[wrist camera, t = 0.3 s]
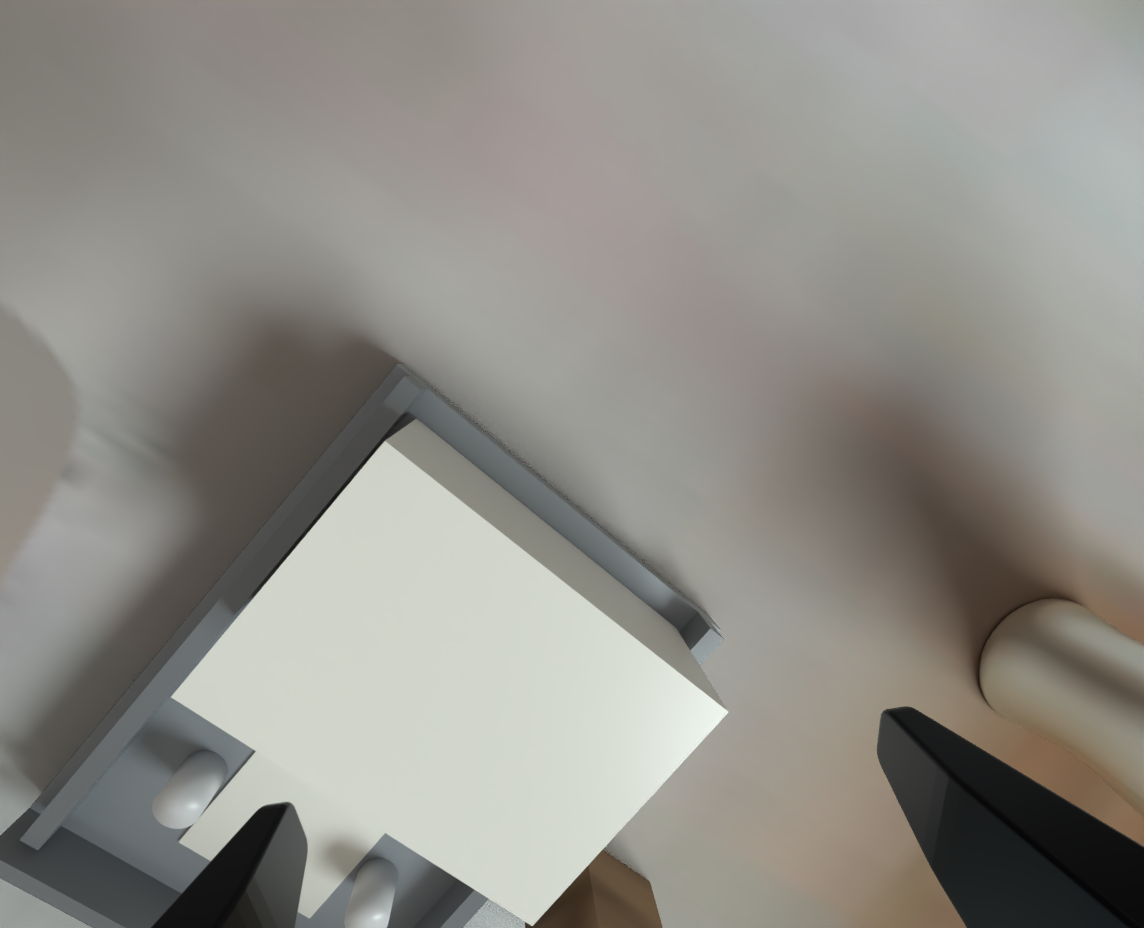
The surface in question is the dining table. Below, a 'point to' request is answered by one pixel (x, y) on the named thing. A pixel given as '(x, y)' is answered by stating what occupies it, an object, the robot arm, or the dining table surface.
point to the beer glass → (1072, 688)
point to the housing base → (242, 775)
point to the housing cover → (459, 677)
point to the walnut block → (604, 899)
